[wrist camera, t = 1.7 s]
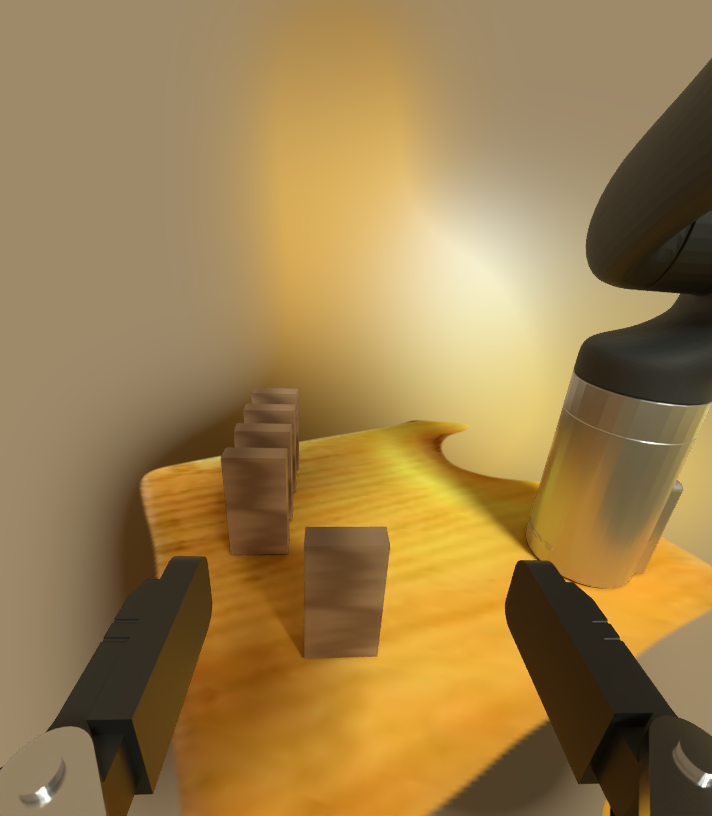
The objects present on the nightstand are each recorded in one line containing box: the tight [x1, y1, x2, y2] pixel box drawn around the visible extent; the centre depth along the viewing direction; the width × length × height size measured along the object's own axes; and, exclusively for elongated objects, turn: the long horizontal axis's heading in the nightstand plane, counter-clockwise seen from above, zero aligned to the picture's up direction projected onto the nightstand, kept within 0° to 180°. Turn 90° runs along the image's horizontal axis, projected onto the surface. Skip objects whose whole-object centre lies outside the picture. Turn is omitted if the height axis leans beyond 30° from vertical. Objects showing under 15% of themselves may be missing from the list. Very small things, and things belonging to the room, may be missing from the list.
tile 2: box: [221, 447, 289, 554], centre depth 33 cm, size 5×2×10 cm, turn 94°
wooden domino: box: [244, 404, 296, 493], centre depth 42 cm, size 5×2×10 cm, turn 94°
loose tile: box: [304, 527, 390, 659], centre depth 25 cm, size 5×2×10 cm, turn 94°
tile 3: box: [234, 423, 293, 520], centre depth 38 cm, size 5×2×10 cm, turn 94°
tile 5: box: [252, 388, 299, 470], centre depth 46 cm, size 5×2×10 cm, turn 94°
